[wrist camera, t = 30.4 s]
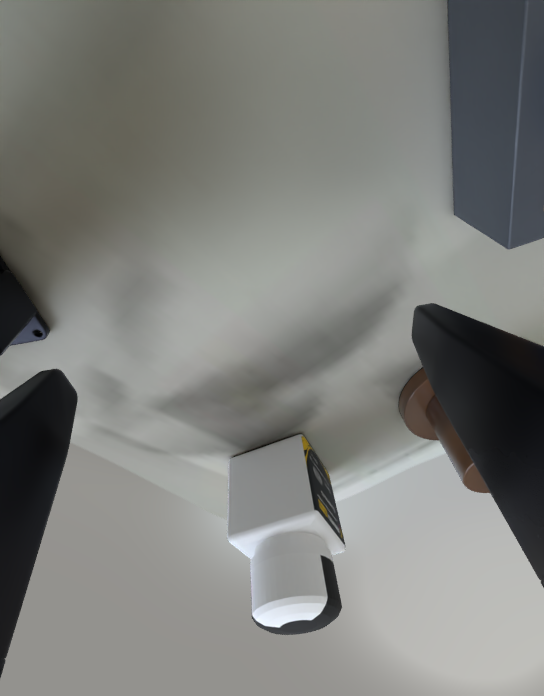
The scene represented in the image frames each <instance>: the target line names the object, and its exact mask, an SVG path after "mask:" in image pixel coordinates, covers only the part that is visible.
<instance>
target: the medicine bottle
mask: <svg viewBox="0 0 544 696" xmlns="http://www.w3.org/2000/svg"><path fill="white" fill-rule="evenodd" d="M227 523H228V524H227V539H228V541H229V542H230V543H231V544H232V545H234V546H235V547H236V548H237V549H239V550H240V551H241V552H242V553H243V554H245V555H246V556H247V557H249V558H250V559H251V562H250V569H251V605H252V619H253V620H254V622H255V623H256V625H257V626H259V627H260V628H262V629H264V630H267V631H269V632H271V633H275V634H282V635H283V634H284V635H290V634H291V635H293V634H302V633H308V632H312V631H316V630H319V629H321V628H323V627H325V626H327V625H328V624H330V623H331V622H332V621H333V620H335V619H336V618H337V617H338V615H339V613H340V611H341V608H342V605H341V599H340V594H339V590H338V585H337V579H336V574H335V569H334V564H333V559H332V555H335V554H339V553H343V552H344V551H345V542H344V538H343V534H342V529H341V525H340V521H339V516H338V512H337V508H336V503H335V499H334V495H333V490H332V486H331V482H330V477H329V474H328V472H327V471H326V469H325V468H324V466H323V465H322V463H321V462H320V460H319V459H318V457H317V455H316V454H315V452H314V451H313V449H312V448H311V446H310V445H309V443H308V442H307V440H306V438H305V437H304V436H303V435H302V434H299V435H296V436H293V437H290V438H287V439H285V440H282V441H279V442H276V443H273V444H270V445H267V446H265V447H262V448H259V449H256V450H253V451H250V452H248V453H245V454H242V455H239V456H236V457H233V458H231V459H230V460H229V472H228V522H227Z"/></svg>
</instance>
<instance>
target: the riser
mask: <svg viewBox="0 0 544 696" xmlns="http://www.w3.org/2000/svg"><path fill="white" fill-rule="evenodd" d="M448 26H449V60H450V93H451V127H452V160H453V194H454V215H455V216H457V217H458V218H460V219H462V220H463V221H465V222H466V223H468V224H469V225H471V226H472V227H474V228H476V229H477V230H479V231H480V232H482V233H483V234H485V235H486V236H488V237H490V238H491V239H493V240H494V241H496V242H497V243H499V244H500V245H502V246H504V247H505V248H507V249H512V248H515V247H518V246H521V245H524V244H527V243H530V242H533V241H536V240H539V239H542V238H544V0H448Z"/></svg>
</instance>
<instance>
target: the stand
mask: <svg viewBox="0 0 544 696" xmlns="http://www.w3.org/2000/svg"><path fill="white" fill-rule="evenodd" d="M399 410H400V413H401V416H402V418H403V420H404V422H405V424H406V426H407V427H408V429H409V430H410V431H411V432H412V433H414V434H415V435H417V436H419V437H421V438H425V439H429V440H440V442H441V444H442V446H443V448H444V450H445V451H446V453H447V455H448V457H449V458H450V460H451V462H452V464H453V466H454V467H455V469H456V471H457V473H458V475H459V477H460V478H461V480H462V482H463V484H464V485H465V486H466V487H467V488H468V489H470V490H472V491H474V492H479V493H490V491H489V489H488V488H487V486H486V484H485V482H484V481H483V479H482V477H481V475H480V473H479V472H478V470H477V468H476V466H475V465H474V463H473V461H472V459H471V458H470V456H469V454H468V452H467V450H466V449H465V447H464V445H463V443H462V442H461V440H460V438H459V436H458V435H457V433H456V431H455V429H454V427H453V426H452V424H451V422H450V420H449V419H448V417H447V415H446V413H445V412H444V410H443V408H442V406H441V404H440V403H439V401H438V399H437V397H436V395H435V393H434V391H433V389H432V387H431V385H430V382H429V380H428V377H427V375H426V373H425V370H424V368H422V369H421V370H419V371H418V372H417V373H416V374H415V375H414V376H413V377H412V378H411V379H410V380H409V381H408V383H407V384H406V386H405V387H404V389H403V391H402V393H401V396H400V400H399Z"/></svg>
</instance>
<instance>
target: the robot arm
mask: <svg viewBox="0 0 544 696" xmlns="http://www.w3.org/2000/svg"><path fill="white" fill-rule="evenodd" d="M37 330H39V331H41V332H42V333H40V332H38V331H37ZM49 332H50V330H49V328H48V326H47V325H46V323H45V322H44V321H43V319H42V318H41V316H40V315H39V313H38V312H37V309H36V308H35V306H34V305H33V303H32V302H31V300H30V299H29V297H28V296H27V294H26V293H25V291H24V290H23V288H22V287H21V285H20V284H19V282H18V281H17V279H16V278H15V276H14V275H13V273H11V271H10V270H9V268H8V267H7V265H6V264H5V262H4V261H3V259H2V258H1V256H0V355H2V354H3V353H4V352H5V350H6V349H7V348H8V347H9V346H11V345H16V344H22V343H28V342H33V341H39V340H43V339H45V338H46V337H47V336H48V334H49ZM412 340H413V343H414V346H415V348H416V351H417V353H418V355H419V358H420V360H421V363H422V365H423V368H424V370H425V373H426V375H427V377H428V380H429V382H430V385H431V387H432V389H433V391H434V393H435V395H436V397H437V399H438V401H439V403H440V404H441V406H442V408H443V410H444V412H445V413H446V415H447V417H448V419H449V420H450V422H451V424H452V426H453V427H454V429H455V431H456V433H457V435H458V436H459V438H460V440H461V442H462V443H463V445H464V447H465V449H466V450H467V452H468V454H469V456H470V458H471V459H472V461H473V463H474V465H475V466H476V468H477V470H478V472H479V473H480V475H481V477H482V479H483V481H484V482H485V484H486V486H487V488H488V489H489V491H490V493H491V495H492V497H493V498H494V500H495V502H496V503H497V505H498V507H499V509H500V510H501V512H502V514H503V516H504V518H505V519H506V521H507V523H508V525H509V527H510V528H511V530H512V532H513V534H514V535H515V537H516V539H517V541H518V543H519V544H520V546H521V548H522V550H523V551H524V553H525V555H526V556H527V558H528V560H529V562H530V564H531V565H532V567H533V569H534V571H535V572H536V574H537V576H538V578H539V579H540V580H542V581H541V584H542V586H543V587H544V346H541V345H538V344H536V343H533V342H531V341H528V340H526V339H523V338H521V337H518V336H516V335H513V334H511V333H508V332H505V331H503V330H500V329H498V328H495V327H493V326H490V325H488V324H485V323H483V322H480V321H478V320H475V319H472V318H470V317H467V316H465V315H462V314H460V313H457V312H455V311H452V310H450V309H447V308H444V307H442V306H439V305H437V304H434V303H430V304H425V305H419V306H417V307H416V308H415V310H414V317H413V327H412ZM76 406H77V393H76V391H75V389H74V388H73V386H72V385H71V383H70V382H69V380H68V379H67V378H66V376H65V375H64V373H63V372H62V371H61V370H59V369H51V370H46V371H41V372H39V373H38V374H36V375H35V376H33V377H32V378H31V379H29V380H28V381H26V382H25V383H23V384H22V385H20V386H19V387H18V388H16V389H15V390H13V391H12V392H10V393H9V394H8V395H6V396H5V397H3V398H2V399H0V677H1V674H2V671H3V667H4V664H5V658H6V656H7V653H8V650H9V647H10V643H11V640H12V637H13V633H14V630H15V627H16V623H17V620H18V617H19V613H20V610H21V607H22V603H23V600H24V597H25V594H26V590H27V587H28V584H29V580H30V577H31V574H32V570H33V567H34V564H35V560H36V557H37V554H38V550H39V547H40V544H41V540H42V537H43V534H44V530H45V527H46V524H47V521H48V517H49V514H50V511H51V507H52V504H53V501H54V497H55V494H56V491H57V487H58V484H59V481H60V477H61V474H62V471H63V467H64V464H65V460H66V457H67V453H68V449H69V444H70V439H71V433H72V428H73V422H74V417H75V411H76Z"/></svg>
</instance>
